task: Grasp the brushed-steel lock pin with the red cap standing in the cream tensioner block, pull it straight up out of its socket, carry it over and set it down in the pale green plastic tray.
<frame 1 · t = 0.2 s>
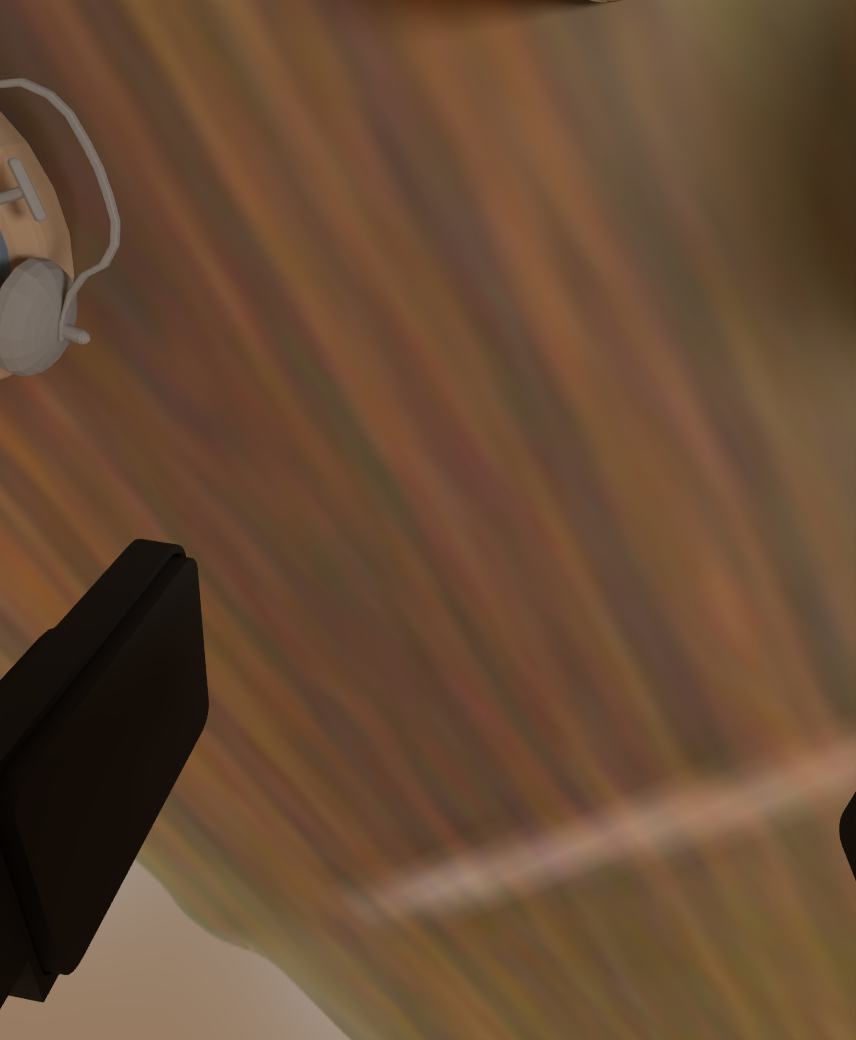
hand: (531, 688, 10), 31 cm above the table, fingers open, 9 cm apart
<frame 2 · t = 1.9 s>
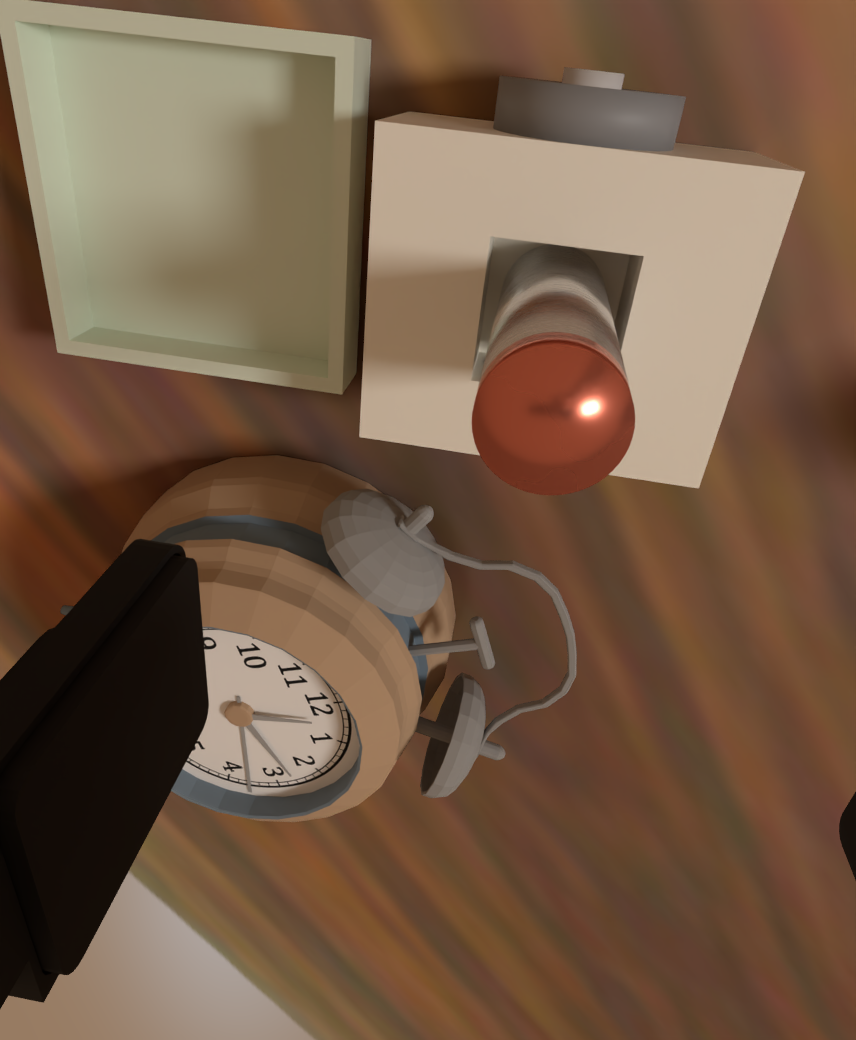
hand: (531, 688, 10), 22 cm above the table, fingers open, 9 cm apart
lock pin: (552, 297, 26), point 3 cm above the table, touching tensioner block
alarm clock: (347, 589, 38), on the table
tray: (212, 205, 29), on the table
tensioner block: (552, 277, 28), on the table
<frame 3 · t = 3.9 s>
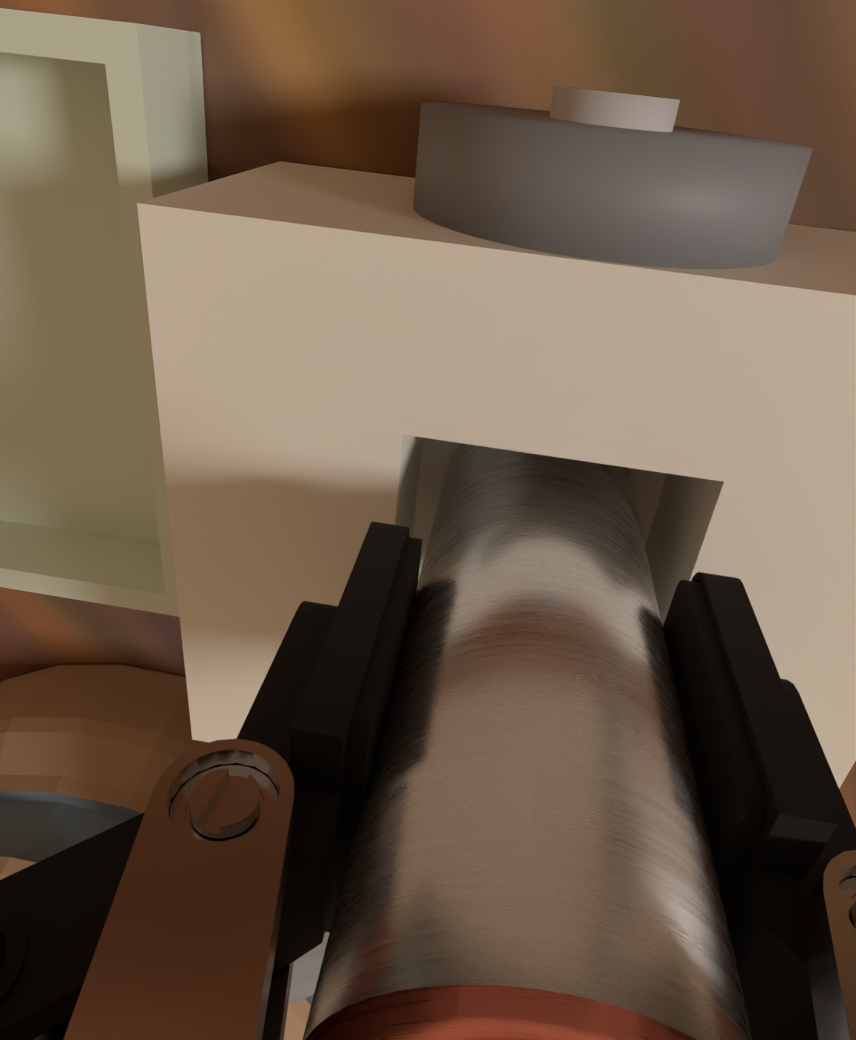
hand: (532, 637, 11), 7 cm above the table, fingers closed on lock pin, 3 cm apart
lock pin: (535, 496, 14), point 3 cm above the table, touching gripper, tensioner block
alarm clock: (247, 827, 26), on the table
tensioner block: (536, 433, 17), on the table
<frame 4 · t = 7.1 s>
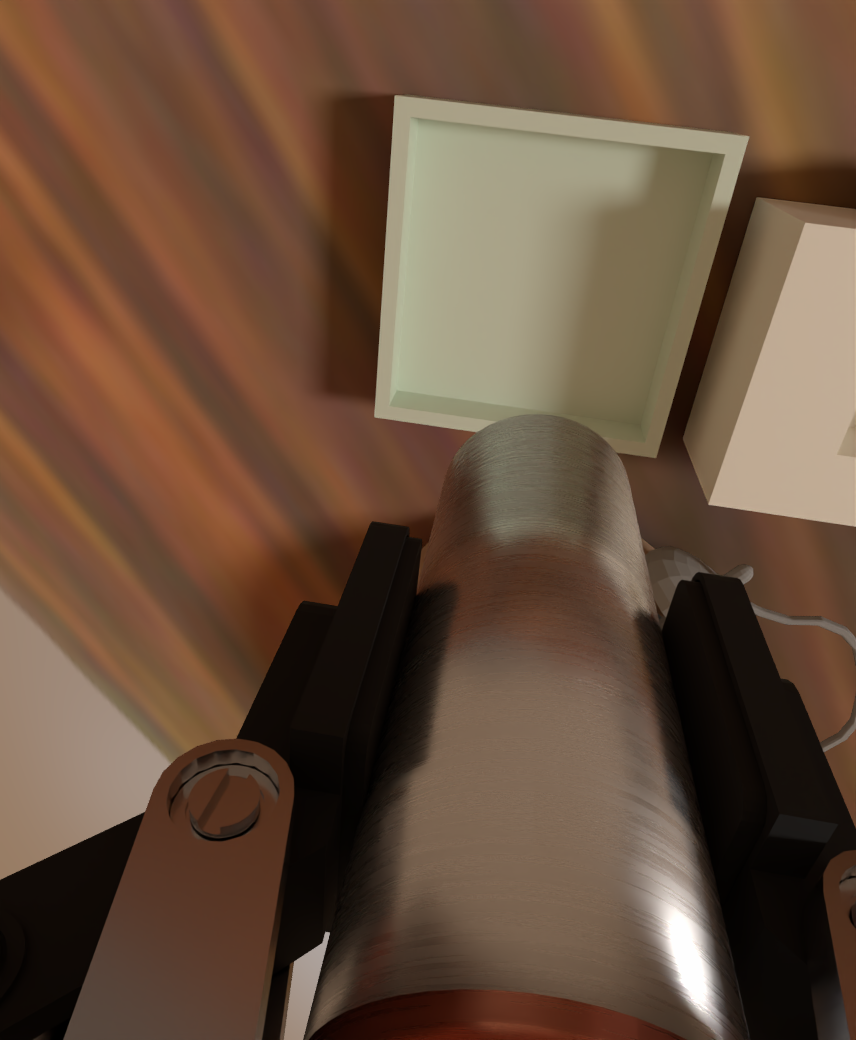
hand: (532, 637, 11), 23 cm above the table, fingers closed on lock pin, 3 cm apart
lock pin: (534, 500, 14), point 19 cm above the table, touching gripper
alarm clock: (591, 634, 39), on the table
tray: (538, 279, 30), on the table
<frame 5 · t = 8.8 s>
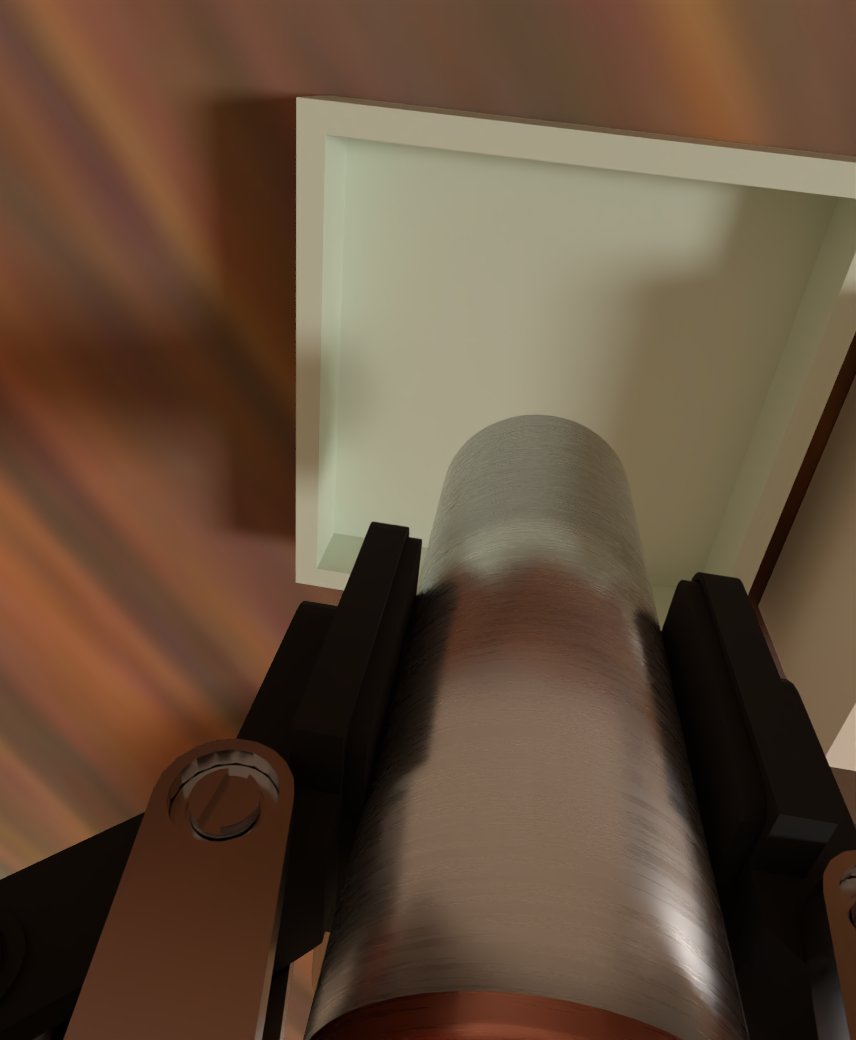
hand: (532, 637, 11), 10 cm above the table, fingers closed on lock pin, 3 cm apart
lock pin: (534, 501, 14), point 6 cm above the table, touching gripper
alarm clock: (615, 833, 29), on the table
tray: (544, 381, 19), on the table
when the fingers open (7 cm above the table, at t = 10.2 s): lock pin drops 2 cm, resting on tray.
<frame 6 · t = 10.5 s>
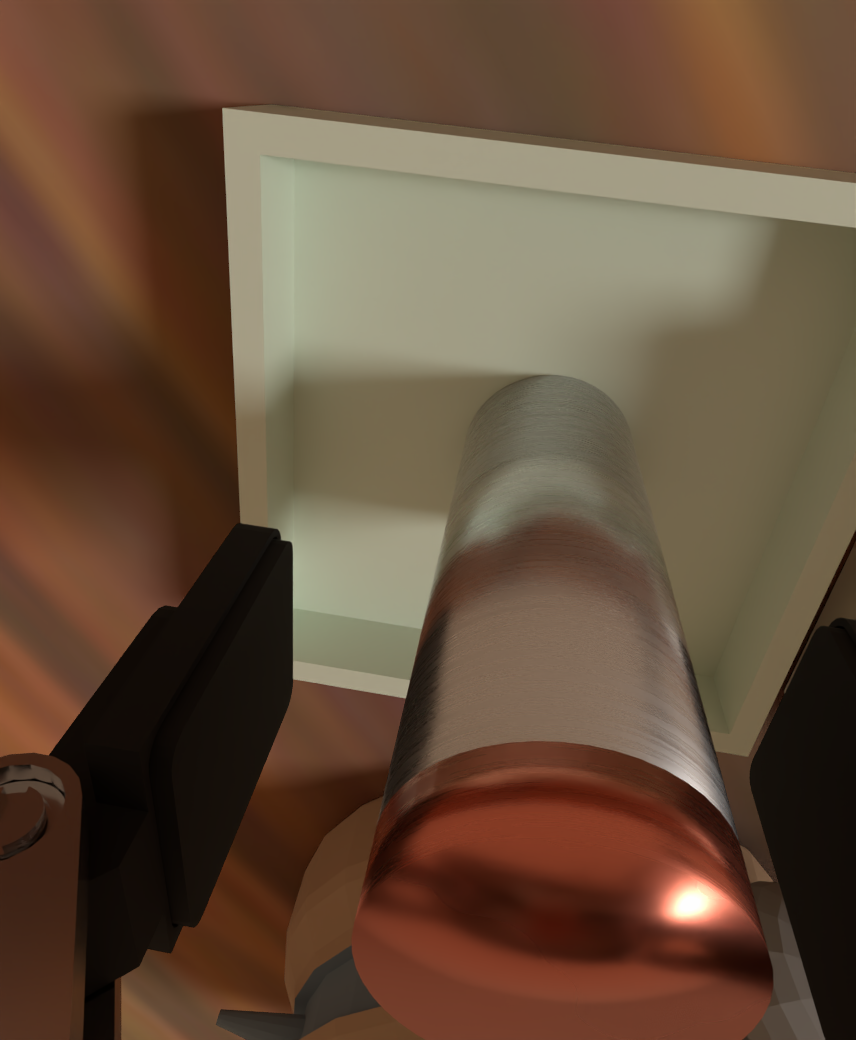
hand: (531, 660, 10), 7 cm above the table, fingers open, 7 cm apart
lock pin: (547, 455, 16), point 1 cm above the table, touching tray
alarm clock: (618, 924, 26), on the table
tray: (536, 441, 16), on the table
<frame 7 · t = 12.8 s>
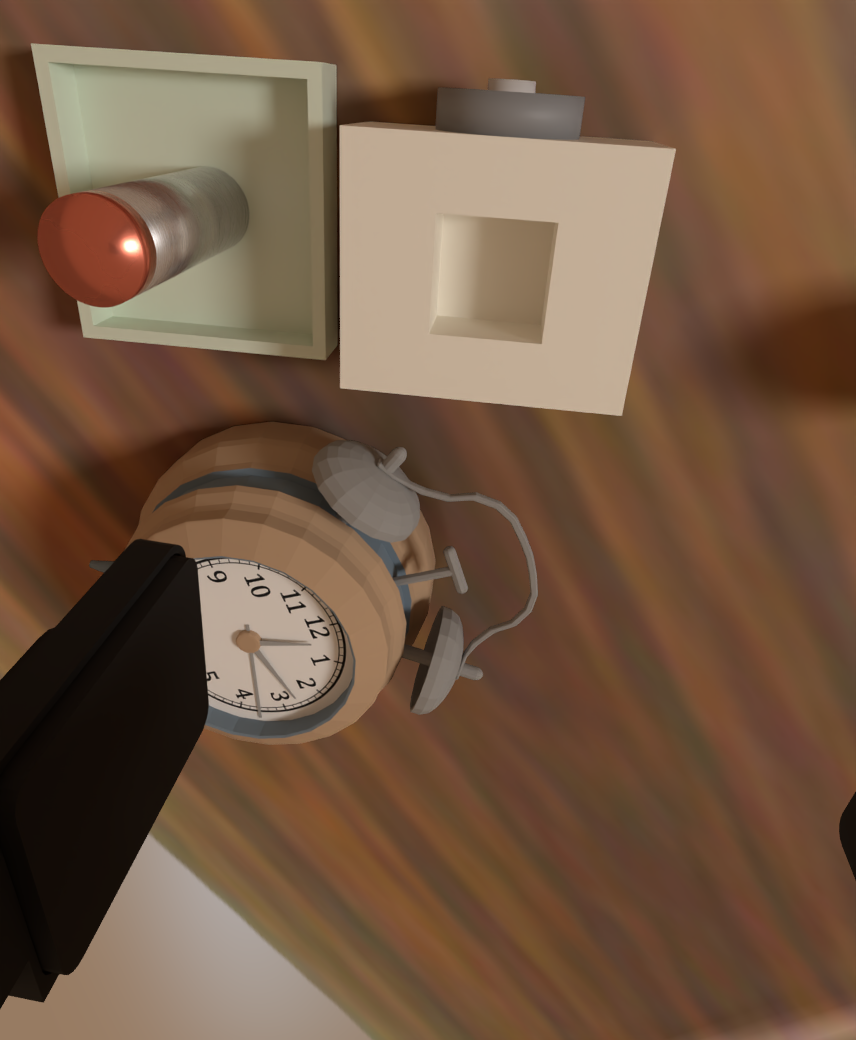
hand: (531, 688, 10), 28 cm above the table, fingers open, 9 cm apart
lock pin: (211, 209, 34), point 1 cm above the table, touching tray
alarm clock: (339, 542, 43), on the table
tray: (211, 207, 34), on the table
tensioner block: (496, 253, 34), on the table
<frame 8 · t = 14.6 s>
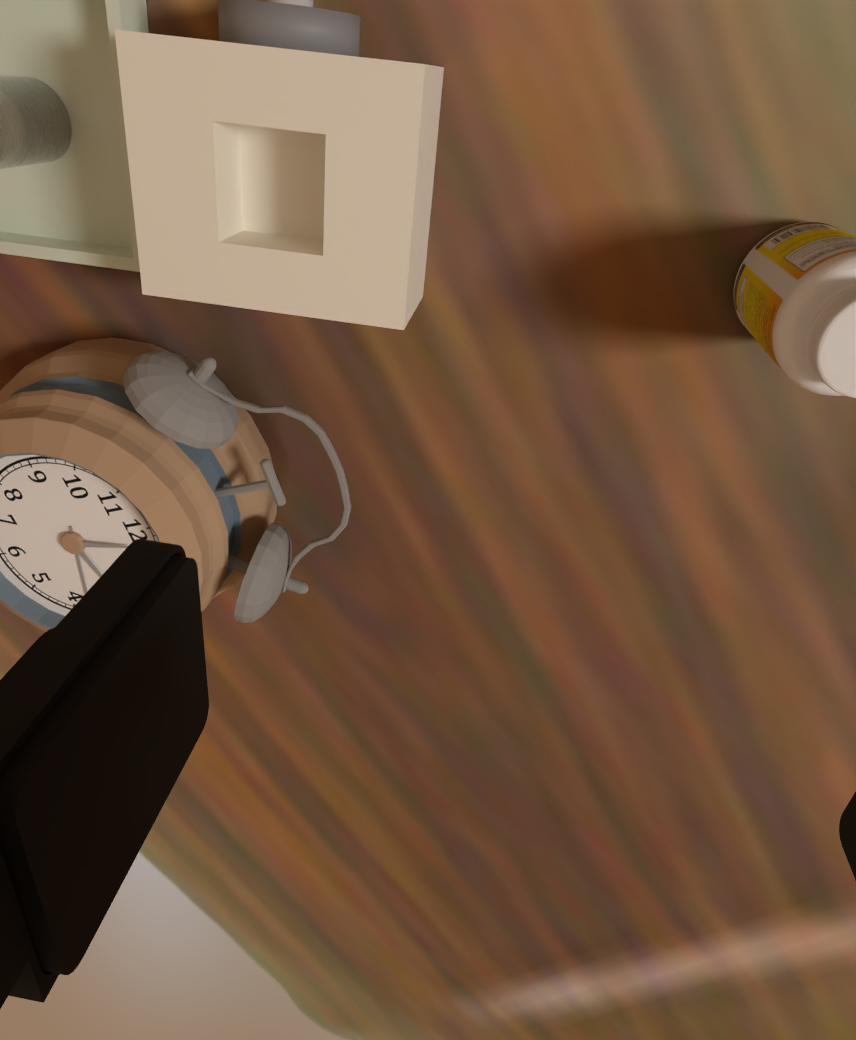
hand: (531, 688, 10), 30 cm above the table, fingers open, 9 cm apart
lock pin: (35, 120, 35), point 1 cm above the table, touching tray
supplement bottle: (791, 280, 35), on the table
alarm clock: (188, 462, 45), on the table
tray: (38, 119, 36), on the table
tensioner block: (309, 175, 35), on the table
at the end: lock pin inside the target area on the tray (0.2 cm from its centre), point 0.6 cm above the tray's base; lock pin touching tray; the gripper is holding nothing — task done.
